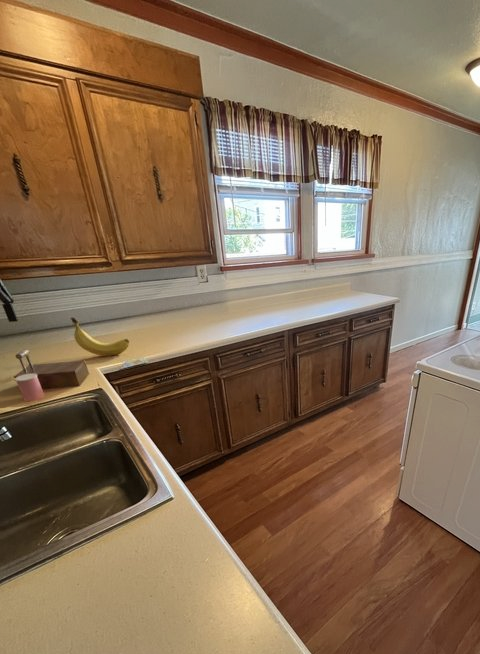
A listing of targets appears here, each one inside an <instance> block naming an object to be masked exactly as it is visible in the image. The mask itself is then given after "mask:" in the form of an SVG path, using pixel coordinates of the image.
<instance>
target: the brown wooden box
mask: <svg viewBox="0 0 480 654" xmlns="http://www.w3.org/2000/svg"><path fill="white" fill-rule="evenodd" d="M89 376H90V371H89V369H88V366H87V363H86V361H85V363H84V364H83V365H82V366H81V367H80V368H79V369H78V370H77V372H76V373H68V374H57V375H47V376H37V378H38V380H39V383H40V385H41V388H42V390H43V391H44V390H54V389H64V388H65V389H66V388H74V387H81V386H82V384H83V383H84V381H86V379H87V378H88V377H89Z"/></svg>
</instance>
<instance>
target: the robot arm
mask: <svg viewBox="0 0 480 654" xmlns="http://www.w3.org/2000/svg"><path fill="white" fill-rule="evenodd" d="M14 299H15V298H14V297H13V296H12V294H11V293H10V291H9V290H8V288H7V287H6V286H5V284H4V282H3V281H2V279H1V278H0V301H1V303H2V304H1V306H2V308H3V310H4V314H5V315H6V318H7V321H8V322H9V323H15V322H19V318H18V316H17V314H16V312H15V311H16V310H15V309H14V307H13V304H15V300H14Z"/></svg>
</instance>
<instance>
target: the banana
mask: <svg viewBox="0 0 480 654" xmlns="http://www.w3.org/2000/svg"><path fill="white" fill-rule="evenodd" d="M70 320H71V322H72V323H73V324H74V326H75V330H74V334H73V335H74V340H75V342H76V344H77V345H78V346H79V347H81V348H82V349H83V350H85V351H87V352H89V353H91V354H93V355H96V356H100V357H101V356H103V357H105V356H106V357H109V356H116V355H119V354H122V353H123V352H126V350H127V349H128V348H129V346H130V340H129V339H128V338H124V339H120V340H118V341H115V342H100V341H98V340H96V339H94V338H93V337H91V336H90V335H89V334H88V333H86V332H85V331H84V330H83V329H82V328H81V327H80V325H79V322H80V321H79V320H78V319H77V318H76V317H72V316H71V317H70Z"/></svg>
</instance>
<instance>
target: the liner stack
mask: <svg viewBox="0 0 480 654" xmlns="http://www.w3.org/2000/svg"><path fill="white" fill-rule="evenodd" d="M14 381H15V382H16V384H17V386H18V388H19V391H20V393H21V395H22V398H23V400H24V401H25V402H34V401H38V400H40V399H43V398H44V397H45V393H44V390H42V388H41V385H40V383H39V380H38V378H37V374H25V375H21V376H18V377H16V378H14Z"/></svg>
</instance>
